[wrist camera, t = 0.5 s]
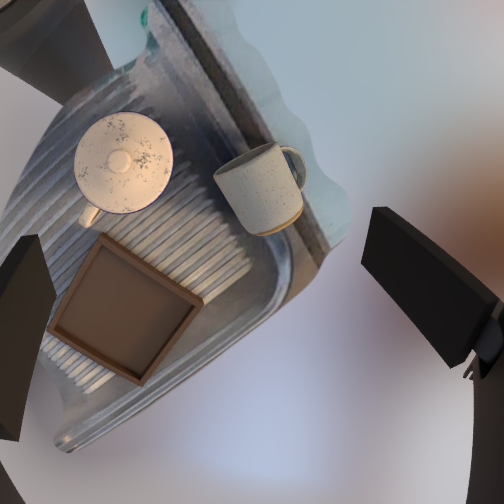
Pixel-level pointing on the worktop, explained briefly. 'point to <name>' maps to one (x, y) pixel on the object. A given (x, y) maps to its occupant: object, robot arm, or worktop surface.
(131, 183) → the teacup with lid
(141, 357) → the rectangular tray
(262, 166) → the ceramic mug
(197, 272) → the worktop surface
